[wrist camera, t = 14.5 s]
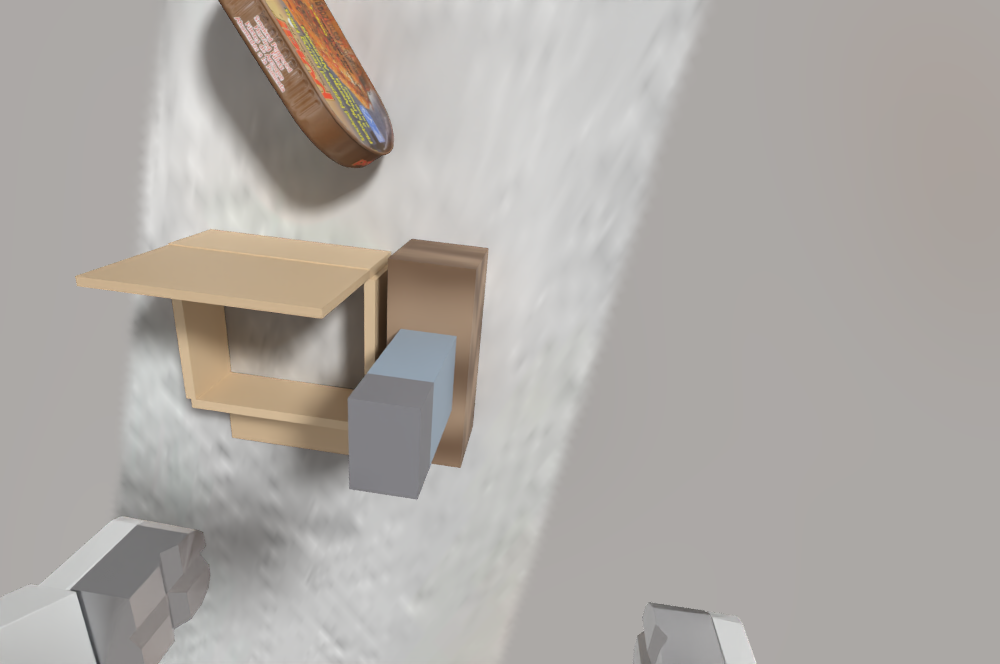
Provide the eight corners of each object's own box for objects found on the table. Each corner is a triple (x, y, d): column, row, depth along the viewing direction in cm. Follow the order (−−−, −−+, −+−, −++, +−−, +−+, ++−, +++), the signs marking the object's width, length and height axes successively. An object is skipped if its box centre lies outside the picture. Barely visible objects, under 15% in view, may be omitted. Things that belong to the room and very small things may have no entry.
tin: (408, 147, 39) (369, 156, 31) (373, 168, 40) (327, 182, 32) (285, -69, 35) (205, -120, 27) (249, -39, 36) (162, -81, 28)
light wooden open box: (206, 228, 43) (68, 273, 31) (396, 252, 42) (328, 308, 30) (230, 435, 51) (126, 534, 39) (391, 459, 50) (336, 569, 38)
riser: (411, 239, 42) (388, 258, 36) (488, 248, 41) (476, 269, 36) (405, 416, 48) (385, 456, 42) (472, 426, 47) (460, 467, 42)
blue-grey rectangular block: (400, 328, 38) (347, 398, 29) (456, 336, 38) (421, 408, 28) (398, 402, 40) (349, 488, 31) (451, 410, 40) (417, 499, 31)
